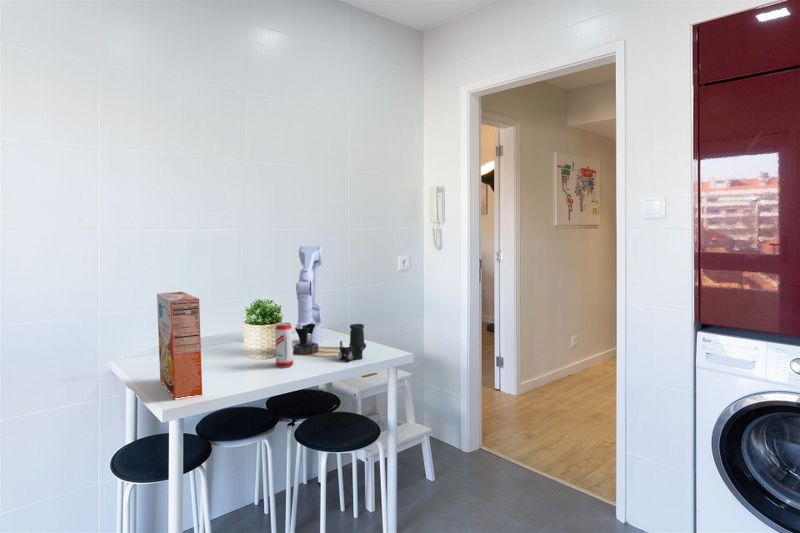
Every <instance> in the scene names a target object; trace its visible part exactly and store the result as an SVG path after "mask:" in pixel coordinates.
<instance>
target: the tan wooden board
mask: <svg viewBox="0 0 800 533" xmlns="http://www.w3.org/2000/svg"><path fill="white" fill-rule="evenodd" d="M318 351H319V352H317V353H315V354H311V355H297V354H294V353H293V357H306V358H307V357H308V358H309V357H310V358H312V357H314V358H331V359H332V358H335V359H337V358H338V359H340V358H341V357H339V352H340V346H326V345H325V346H320V345H318Z"/></svg>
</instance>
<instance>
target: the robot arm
mask: <svg viewBox="0 0 800 533" xmlns="http://www.w3.org/2000/svg"><path fill="white" fill-rule="evenodd" d="M298 257H299V260H300V263H301V265H302V266H303V267H302V269H300V271H299V277H298V282H296V285H295V291H296V299H297V314H298V315H297V317H298V318H297V319H298V320H297V323H296V327H294V329H295V330H294V331H295V332H296V334H297V335H298V340H299V343H301V345H306V343H307V335H308V333H310V334H312V342H314V343H317V344H318V345H319V344H320V343H322V342H324V339H322V337H323V336H322V334H323V333H322V331H323V330H322V326H321V324H322V322H323V316H324V315H323V307H322V305H321V304H319V303H318V302H317V274H318V273H317V271H318V267H319V266H321V265H322V262H323V247H322V245H314V246H311V245H307V246H306V245H305V246H304V245H300V246H299V248H298Z"/></svg>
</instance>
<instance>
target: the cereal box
mask: <svg viewBox="0 0 800 533" xmlns="http://www.w3.org/2000/svg"><path fill="white" fill-rule="evenodd" d="M156 299H157V300H156V301H157V302H156V303H157V304H156V305H157V306H156V308H157V326H158V328H157V329H158V332H157V333H158V352H159V353H158V355H159V356H158V357H159V378H160V379H159V380H160V381H161V382H162V383H163V385H164V386H165V387H166V388H167V390H168V391H169V393H170V394H171V395H172V397H173V398H174V399H175V398H181V397H187V396H195V395H201V396H203V379H202V378H203V377H202V376H203V372H202V371H203V370H202V347H201V346H202V343H201V342H202V340H201V314H200V298H199V297H196V296H193V295H191V294H189V293H187V292H184V291H177V292H163V293H156ZM161 382H160V383H161ZM163 385H162V386H163ZM164 386H163V387H164ZM167 390H166V391H167ZM169 393H168V394H169ZM170 394H169V395H170ZM172 397H171V398H172ZM173 398H172V399H173Z"/></svg>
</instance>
